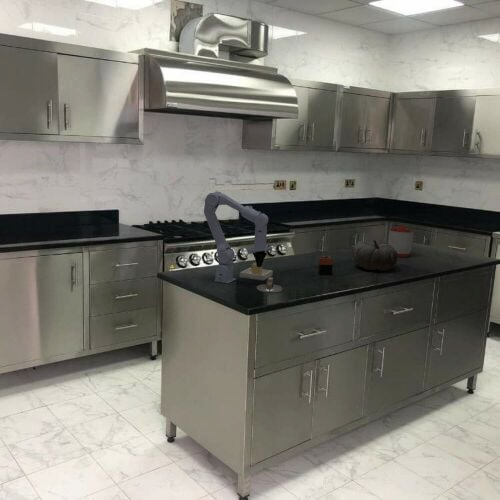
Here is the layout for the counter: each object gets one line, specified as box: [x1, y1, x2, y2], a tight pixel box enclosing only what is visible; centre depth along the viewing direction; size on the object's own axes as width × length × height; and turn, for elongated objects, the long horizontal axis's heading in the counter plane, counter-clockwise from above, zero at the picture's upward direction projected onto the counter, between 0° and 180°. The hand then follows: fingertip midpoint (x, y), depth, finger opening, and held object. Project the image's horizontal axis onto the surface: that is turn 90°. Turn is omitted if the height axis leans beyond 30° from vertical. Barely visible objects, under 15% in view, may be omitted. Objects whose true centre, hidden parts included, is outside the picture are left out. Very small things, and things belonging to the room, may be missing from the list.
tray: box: [239, 267, 274, 281], centre depth 280 cm, size 13×13×2 cm
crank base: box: [256, 283, 283, 293], centre depth 257 cm, size 12×12×1 cm
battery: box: [318, 255, 334, 276], centre depth 290 cm, size 4×7×10 cm, turn 92°
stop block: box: [251, 262, 263, 275], centre depth 280 cm, size 4×4×6 cm
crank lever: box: [265, 275, 274, 289], centre depth 259 cm, size 16×3×3 cm, turn 176°
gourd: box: [352, 239, 399, 272], centre depth 308 cm, size 25×25×17 cm
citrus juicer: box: [387, 224, 416, 258], centre depth 348 cm, size 16×17×20 cm
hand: (259, 266), depth 264 cm, fingers closed
